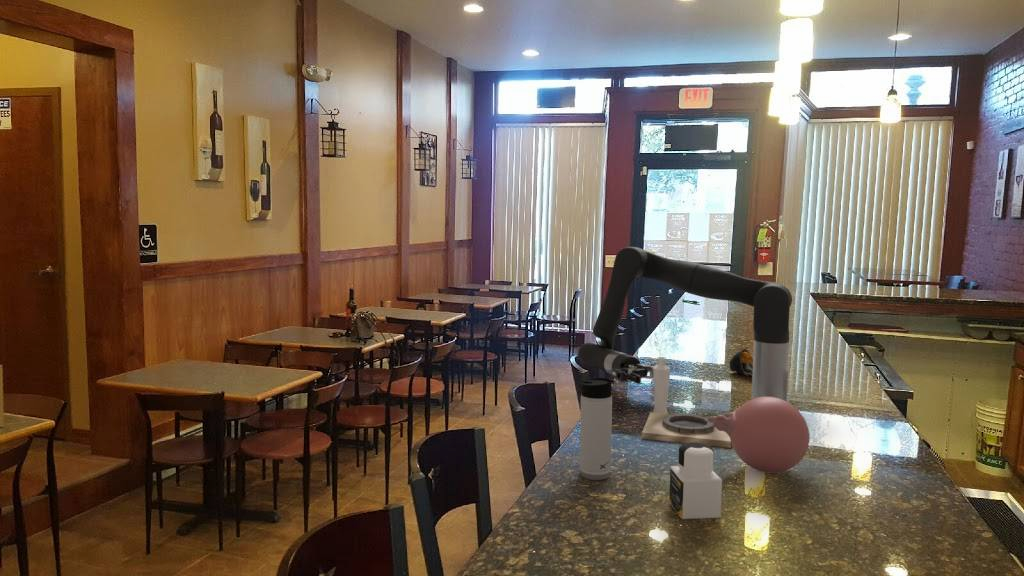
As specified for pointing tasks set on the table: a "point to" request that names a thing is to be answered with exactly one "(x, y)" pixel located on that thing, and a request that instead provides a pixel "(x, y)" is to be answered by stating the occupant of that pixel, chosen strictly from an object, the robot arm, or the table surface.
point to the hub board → (684, 429)
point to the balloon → (766, 433)
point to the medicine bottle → (695, 483)
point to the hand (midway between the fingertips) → (653, 378)
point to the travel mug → (596, 428)
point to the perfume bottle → (661, 386)
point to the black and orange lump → (742, 363)
